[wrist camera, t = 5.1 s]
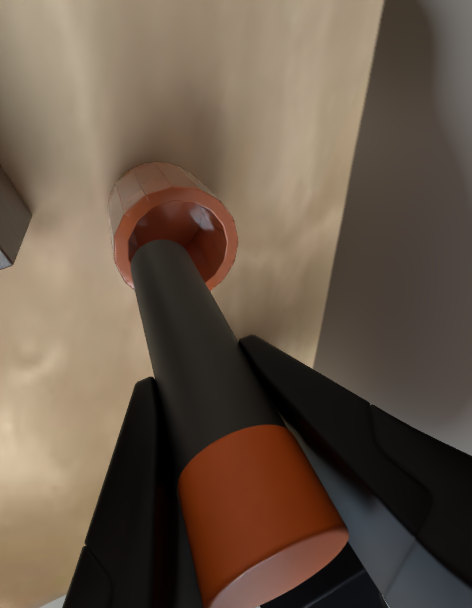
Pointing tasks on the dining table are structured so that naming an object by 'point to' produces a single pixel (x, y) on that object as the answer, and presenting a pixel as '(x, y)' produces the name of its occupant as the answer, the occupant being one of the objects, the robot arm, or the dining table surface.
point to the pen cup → (171, 219)
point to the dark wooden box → (11, 221)
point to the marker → (229, 445)
